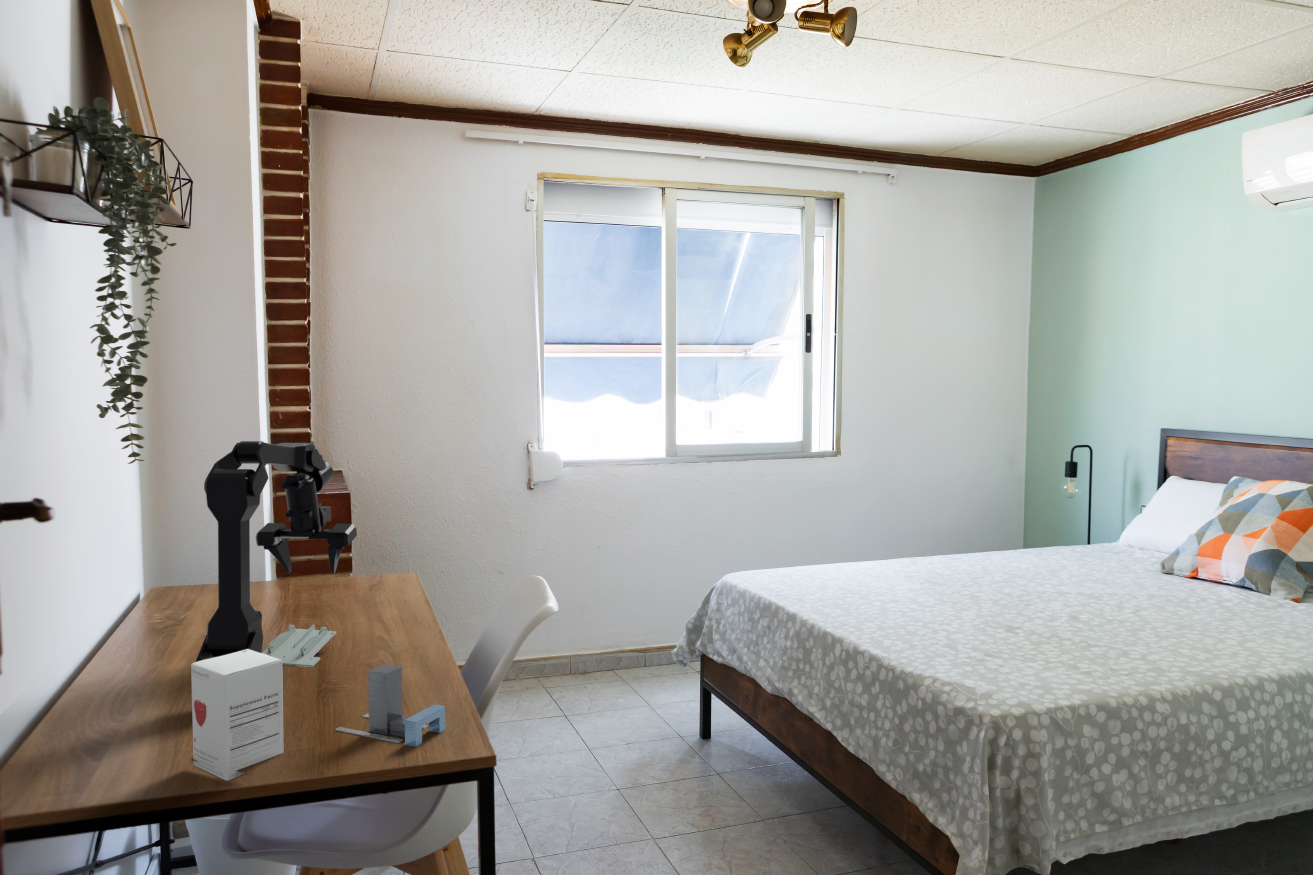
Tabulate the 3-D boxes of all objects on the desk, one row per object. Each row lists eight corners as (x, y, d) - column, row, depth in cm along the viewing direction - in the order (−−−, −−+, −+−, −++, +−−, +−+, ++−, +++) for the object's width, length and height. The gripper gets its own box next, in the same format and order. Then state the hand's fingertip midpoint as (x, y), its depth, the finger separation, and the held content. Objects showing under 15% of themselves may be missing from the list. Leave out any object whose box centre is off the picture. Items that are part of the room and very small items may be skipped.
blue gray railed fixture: (333, 737, 135) (332, 706, 135) (366, 720, 142) (366, 691, 142) (415, 754, 129) (414, 722, 129) (446, 735, 136) (445, 705, 136)
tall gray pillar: (369, 731, 135) (368, 670, 134) (384, 723, 138) (383, 663, 138) (408, 739, 132) (408, 676, 132) (423, 730, 135) (422, 670, 135)
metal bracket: (281, 617, 184) (346, 622, 181) (286, 641, 186) (351, 646, 183) (237, 656, 171) (307, 661, 168) (243, 681, 173) (312, 687, 170)
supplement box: (190, 766, 125) (188, 662, 124) (250, 745, 132) (248, 647, 131) (225, 782, 120) (223, 674, 119) (285, 759, 127) (284, 658, 126)
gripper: (362, 488, 185) (369, 555, 190) (274, 487, 185) (283, 554, 190) (342, 508, 174) (351, 579, 179) (249, 507, 175) (260, 578, 180)
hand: (311, 572), depth 182 cm, fingers open, 9 cm apart
